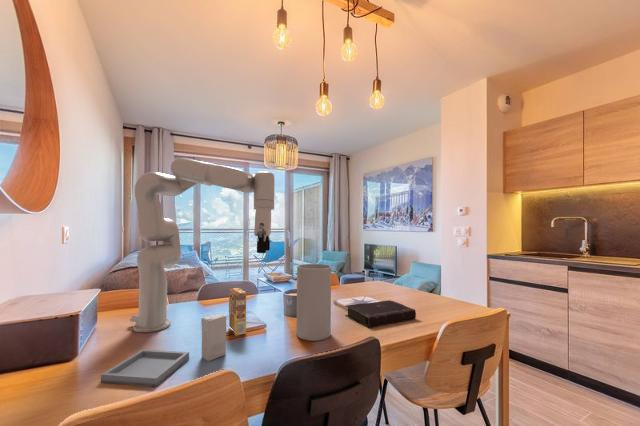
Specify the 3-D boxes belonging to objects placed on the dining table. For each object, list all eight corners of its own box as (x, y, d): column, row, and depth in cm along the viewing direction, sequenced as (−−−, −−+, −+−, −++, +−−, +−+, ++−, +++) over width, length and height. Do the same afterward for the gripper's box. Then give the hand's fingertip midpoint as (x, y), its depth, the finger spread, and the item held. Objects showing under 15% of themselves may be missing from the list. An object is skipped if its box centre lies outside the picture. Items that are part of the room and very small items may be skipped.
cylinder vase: (334, 331, 112) (335, 264, 113) (324, 344, 100) (324, 269, 101) (304, 327, 116) (304, 263, 117) (290, 338, 104) (291, 267, 105)
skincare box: (218, 351, 94) (219, 312, 94) (226, 355, 91) (227, 315, 91) (200, 357, 89) (201, 317, 90) (208, 362, 86) (208, 320, 87)
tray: (100, 382, 75) (100, 374, 75) (142, 356, 90) (142, 349, 90) (156, 386, 73) (156, 378, 73) (189, 358, 88) (189, 352, 88)
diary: (416, 321, 127) (416, 309, 127) (369, 330, 115) (369, 317, 115) (387, 309, 143) (387, 298, 143) (343, 316, 132) (343, 304, 132)
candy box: (246, 333, 108) (247, 291, 109) (235, 336, 106) (235, 293, 107) (238, 326, 116) (239, 287, 116) (227, 328, 113) (228, 288, 114)
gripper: (257, 206, 118) (257, 249, 118) (249, 203, 101) (248, 254, 100) (276, 206, 118) (276, 249, 118) (271, 204, 101) (270, 254, 101)
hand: (263, 251), depth 109 cm, fingers open, 9 cm apart
